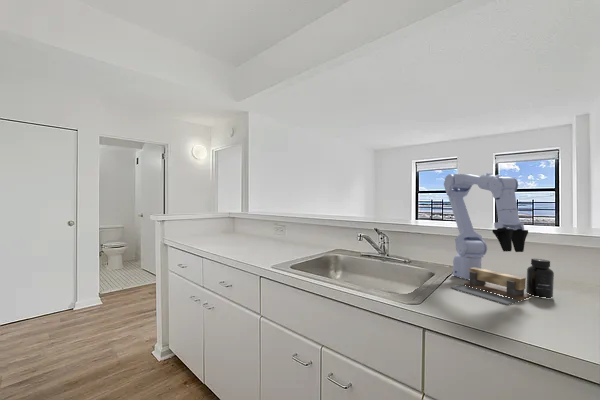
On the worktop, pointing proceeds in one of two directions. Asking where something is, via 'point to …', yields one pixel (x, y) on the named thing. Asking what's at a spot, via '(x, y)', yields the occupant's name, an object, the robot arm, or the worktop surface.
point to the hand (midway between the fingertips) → (513, 251)
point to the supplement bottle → (540, 278)
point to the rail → (498, 278)
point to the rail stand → (497, 288)
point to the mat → (485, 294)
